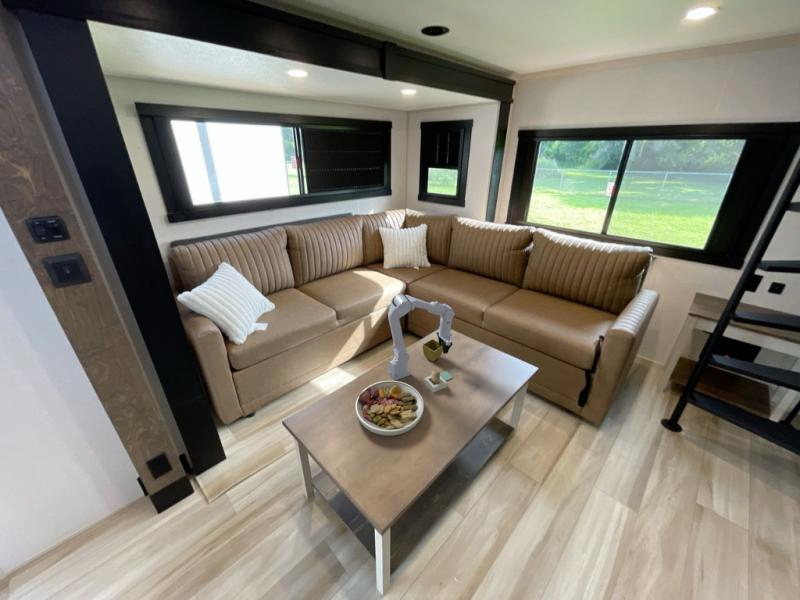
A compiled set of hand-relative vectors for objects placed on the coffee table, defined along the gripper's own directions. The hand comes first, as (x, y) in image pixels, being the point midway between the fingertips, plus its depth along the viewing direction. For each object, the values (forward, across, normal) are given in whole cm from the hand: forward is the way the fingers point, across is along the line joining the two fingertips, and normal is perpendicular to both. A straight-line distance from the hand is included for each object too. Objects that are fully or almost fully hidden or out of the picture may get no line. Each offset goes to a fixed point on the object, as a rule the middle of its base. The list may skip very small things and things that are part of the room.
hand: (443, 349), depth 164 cm
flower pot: (+10, +6, +4) cm, 13 cm away
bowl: (+11, -29, +32) cm, 45 cm away
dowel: (+10, -16, +8) cm, 20 cm away
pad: (+10, -10, +1) cm, 14 cm away
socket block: (+10, -16, +8) cm, 20 cm away
